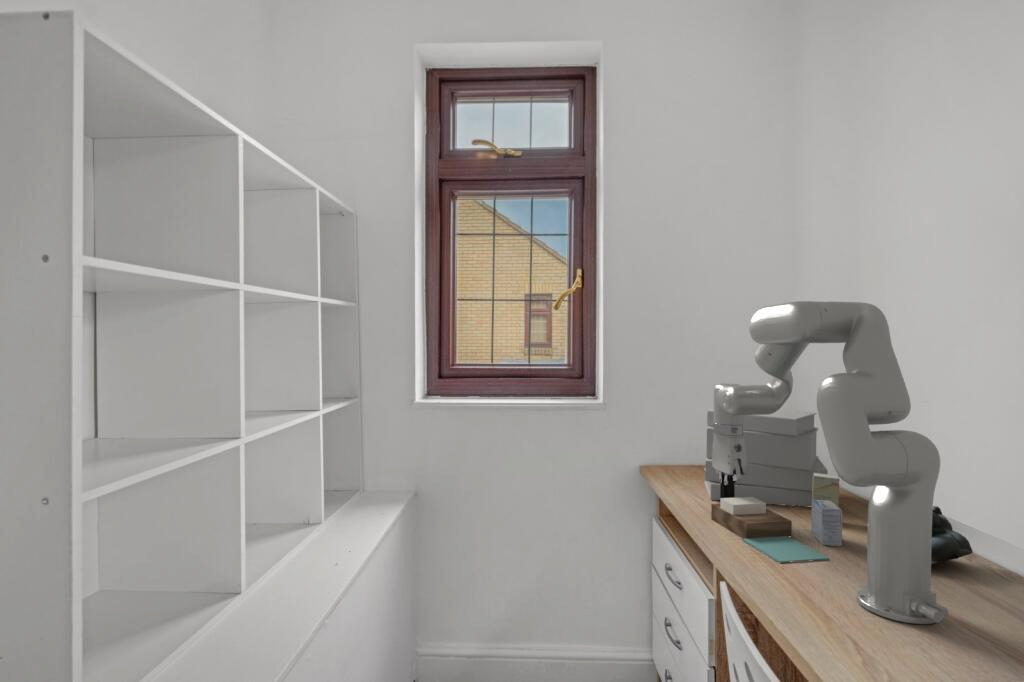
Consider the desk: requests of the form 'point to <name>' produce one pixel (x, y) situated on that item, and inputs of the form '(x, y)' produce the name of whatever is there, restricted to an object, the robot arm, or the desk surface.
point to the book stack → (773, 458)
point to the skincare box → (825, 487)
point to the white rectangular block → (743, 505)
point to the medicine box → (827, 522)
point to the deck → (753, 523)
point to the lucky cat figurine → (946, 540)
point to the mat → (784, 549)
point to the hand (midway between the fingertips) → (727, 498)
